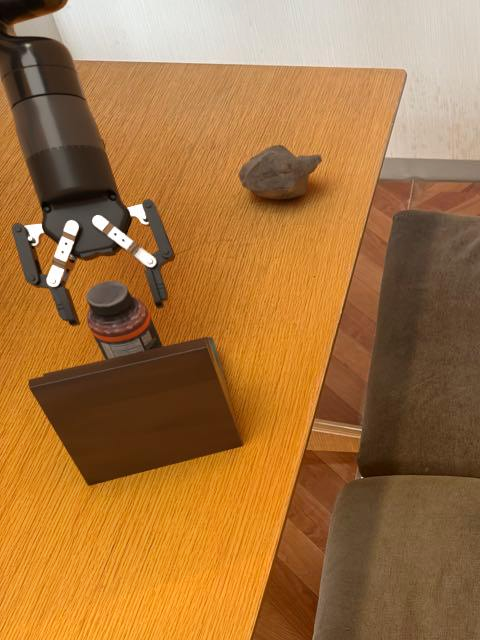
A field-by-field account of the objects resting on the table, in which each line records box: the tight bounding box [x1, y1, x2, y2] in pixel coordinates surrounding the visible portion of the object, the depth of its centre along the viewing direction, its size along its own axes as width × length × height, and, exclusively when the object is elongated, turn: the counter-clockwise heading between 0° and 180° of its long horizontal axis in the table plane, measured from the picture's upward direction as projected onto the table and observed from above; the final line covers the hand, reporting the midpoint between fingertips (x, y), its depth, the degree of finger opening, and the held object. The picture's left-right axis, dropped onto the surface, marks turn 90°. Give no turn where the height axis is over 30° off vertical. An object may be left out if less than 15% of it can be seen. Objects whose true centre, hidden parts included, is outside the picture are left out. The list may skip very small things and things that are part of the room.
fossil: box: [238, 144, 323, 200], centre depth 120 cm, size 11×9×8 cm
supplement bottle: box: [85, 280, 164, 360], centre depth 93 cm, size 6×6×11 cm
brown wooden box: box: [27, 336, 244, 486], centre depth 93 cm, size 15×16×14 cm
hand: (118, 315), depth 93 cm, fingers open, 8 cm apart
